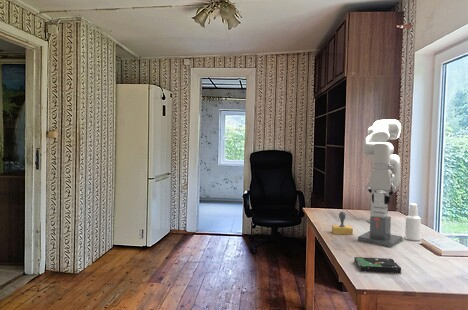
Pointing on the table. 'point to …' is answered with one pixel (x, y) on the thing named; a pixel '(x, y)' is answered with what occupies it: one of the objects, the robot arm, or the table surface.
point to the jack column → (380, 205)
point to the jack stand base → (380, 233)
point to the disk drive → (377, 265)
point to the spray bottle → (413, 223)
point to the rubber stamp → (342, 226)
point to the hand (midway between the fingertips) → (380, 202)
